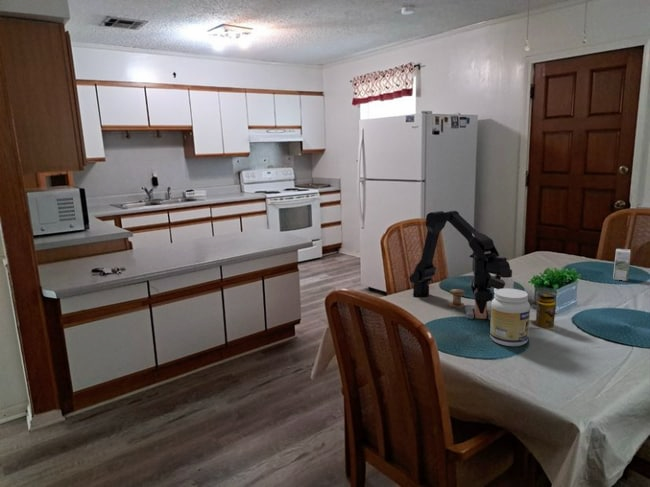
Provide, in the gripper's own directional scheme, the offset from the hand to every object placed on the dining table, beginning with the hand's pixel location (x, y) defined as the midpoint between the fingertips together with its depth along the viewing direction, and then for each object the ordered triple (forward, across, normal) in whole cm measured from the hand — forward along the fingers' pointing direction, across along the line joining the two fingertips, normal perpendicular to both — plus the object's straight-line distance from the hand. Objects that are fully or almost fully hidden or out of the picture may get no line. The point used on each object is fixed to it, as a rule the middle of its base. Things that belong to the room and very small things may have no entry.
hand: (480, 309), depth 175 cm
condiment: (+3, -6, -21) cm, 22 cm away
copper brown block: (+3, 0, 0) cm, 3 cm away
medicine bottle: (+3, +28, -13) cm, 31 cm away
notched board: (+3, +2, 0) cm, 4 cm away
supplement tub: (+3, -21, -7) cm, 22 cm away
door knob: (+3, +11, +8) cm, 14 cm away
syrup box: (+3, +57, -70) cm, 90 cm away
